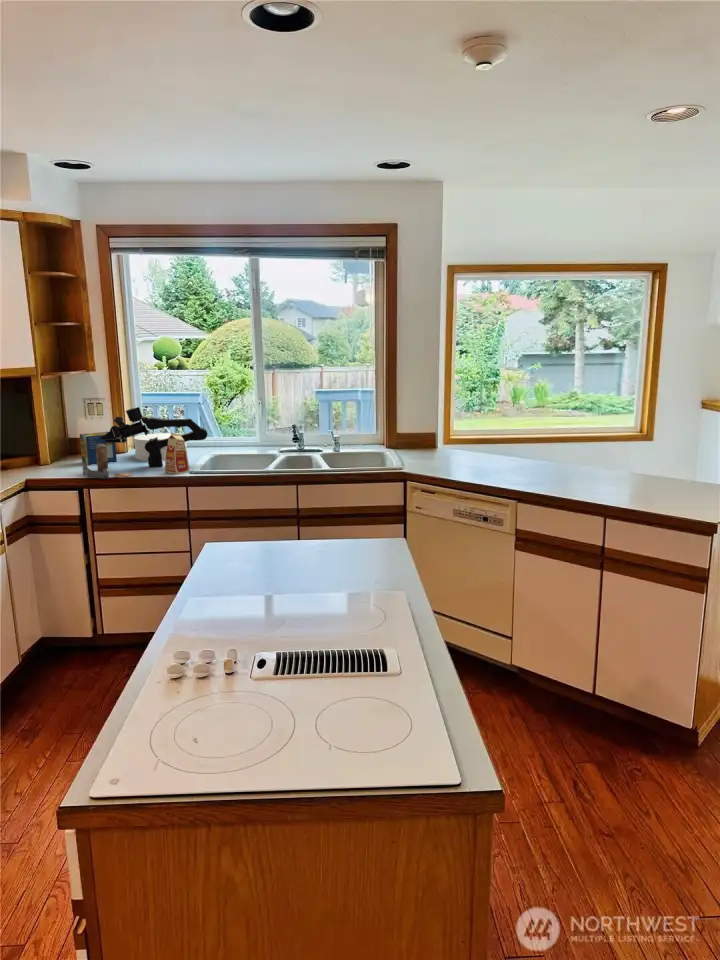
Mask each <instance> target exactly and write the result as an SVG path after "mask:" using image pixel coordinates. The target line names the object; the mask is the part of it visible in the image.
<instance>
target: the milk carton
mask: <svg viewBox="0 0 720 960" xmlns="http://www.w3.org/2000/svg"><path fill="white" fill-rule="evenodd" d="M170 433H171V436H170V437H169V439H168V445H167V451H166V460H164V462H165V463H164V464H165V465H164V473H166V472H168V473H167V474H171V473H175V474H174V475H181V474H180V473H182V474H185V472H186V473H188V471H189V472H190V464H189V457H188V450H187V451H186V448H187V447H186V446H185V442H184V439H183V438H182V437H181V435H182V434H183V433H178V434H175V433H176V432H170Z"/></svg>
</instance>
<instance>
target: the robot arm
mask: <svg viewBox="0 0 720 960" xmlns="http://www.w3.org/2000/svg"><path fill="white" fill-rule="evenodd" d="M125 413H126V414H127V417H128V419H129V420H128V421H130V422H132V424H129V423H125V422H124V418H123V417H122V416H116V417H115V418H114V419H113V422H114V423H116V425H112V426H111V427H110V429H109V431H107V432H108V433H107V434H105V435H104V436H102V437H101V440H105V442H114V443H115V444H116V443H117V444H124V443H127V442H128V438H131V437H132V438H133V437H135V436H136V435H137V436H138V435H139V434H143V433H144V435H147V434H148V433H149V432H150V430H151V431H152V430H158V429H162V428H163V429H164V428H174V427H177V428H178V427H181V428H182V427H188V428H189V429H190V430H191V431H190V432H187V433H182V434H183V435H181V437H182V438H183V439H184V442H186V441H187V442H190V441H205V440H206V439H207V437H208V431H207V430H206V429H205V428H204V427H201V426H200V425H198V424H197V422H195V421H194V420H193V419H192V418H177V419H176V418H173V419H172V418H171V419H169V418H168V419H165V418H159V417H153V416H152V417H147V416H143V414H142V411H141V408H140V406H138V407H137V406H136V407H134V408H129V409H127V410H125ZM117 425H118V426H117ZM148 429H149V430H148ZM168 439H169V438H166V439H162V440H158V437H156V438H153V439H149V440H148V441H147V442H146V444H145V450H146V451H147V452H149V457H148V461H147V462H148V465H147V466H148V467H149V468H159V467H160V468H161V467H163V466H164V463H163V461H162V454H160V453H161V448H163V447H166V446H167V445H168ZM187 442H186V443H187Z"/></svg>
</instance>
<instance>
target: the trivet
mask: <svg viewBox="0 0 720 960" xmlns="http://www.w3.org/2000/svg"><path fill="white" fill-rule="evenodd" d="M131 475H132V476H133V474H132V473H131V472H119V473H115V474H114V475H113V477H114V476H115V477H114V478H116V479H117V478H118V479H121V478H122V479H123V478H124V477H125V478H129V477H128V476H131ZM132 476H131V477H132ZM125 478H124V479H125Z"/></svg>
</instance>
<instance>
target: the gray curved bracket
mask: <svg viewBox="0 0 720 960" xmlns="http://www.w3.org/2000/svg"><path fill="white" fill-rule="evenodd" d="M82 474H83V475H84V476H86V475H87V476H88V478H94V479H103V480H106V479H107V480H108V479H110V478H109V477H110V476H109V468H108V469H107V468H106V469H103V471H98V470H94V469H93V470H91V468H88V465H87V464H85V463H83V464H82ZM87 476H86V477H87Z"/></svg>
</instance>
